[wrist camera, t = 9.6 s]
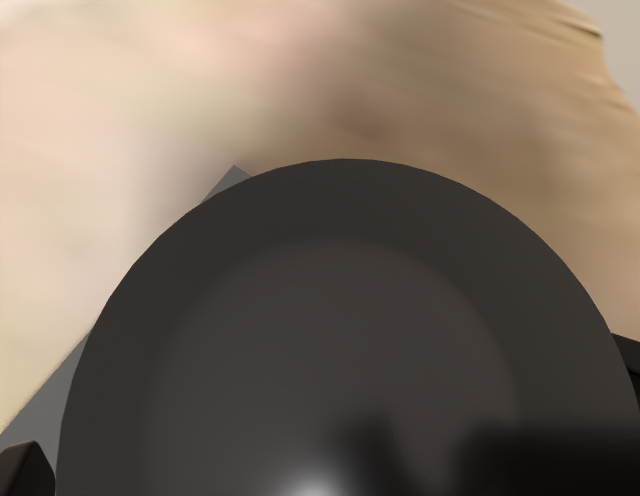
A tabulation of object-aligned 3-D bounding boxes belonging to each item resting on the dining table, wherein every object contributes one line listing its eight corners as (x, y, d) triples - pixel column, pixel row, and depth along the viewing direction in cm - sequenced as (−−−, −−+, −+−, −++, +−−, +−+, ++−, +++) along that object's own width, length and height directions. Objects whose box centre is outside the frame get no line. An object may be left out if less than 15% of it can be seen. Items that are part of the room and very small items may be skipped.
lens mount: (326, 714, 15) (360, 836, 11) (-13, 467, 15) (-107, 492, 11) (493, 352, 20) (560, 340, 16) (234, 178, 20) (232, 121, 16)
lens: (345, 506, 16) (711, 874, 3) (174, 486, 15) (-105, 853, 3) (362, 339, 18) (631, 202, 6) (212, 314, 17) (146, 97, 5)
